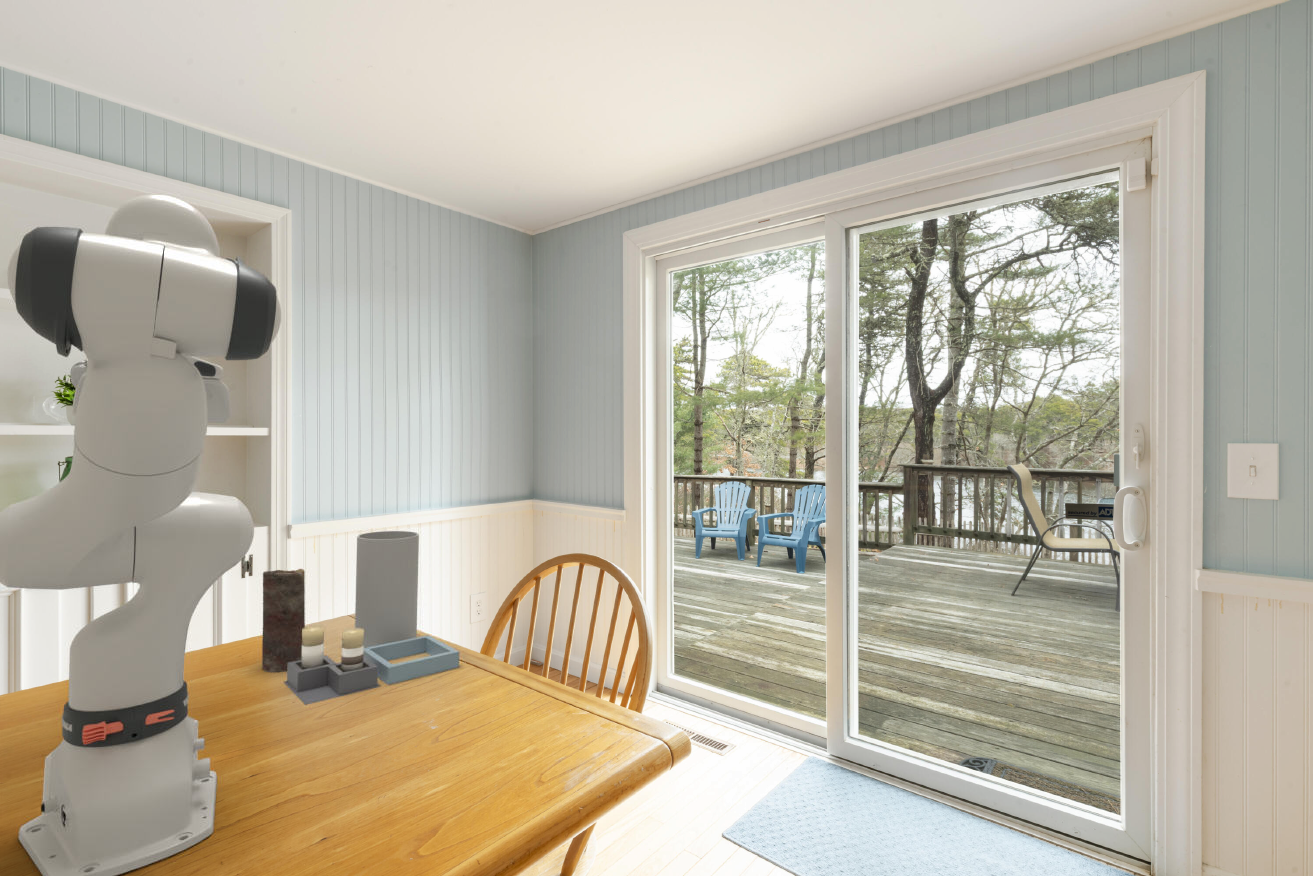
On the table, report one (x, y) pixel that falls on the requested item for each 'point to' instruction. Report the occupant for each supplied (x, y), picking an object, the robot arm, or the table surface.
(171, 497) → the robot arm
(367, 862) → the table surface
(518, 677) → the table surface
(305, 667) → the cylinder
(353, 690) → the fuse holder
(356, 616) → the cylinder vase
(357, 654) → the fuse
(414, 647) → the parts tray
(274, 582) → the candle
